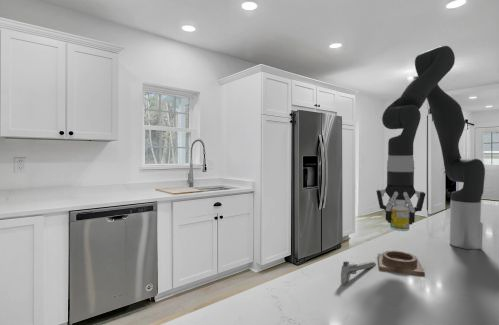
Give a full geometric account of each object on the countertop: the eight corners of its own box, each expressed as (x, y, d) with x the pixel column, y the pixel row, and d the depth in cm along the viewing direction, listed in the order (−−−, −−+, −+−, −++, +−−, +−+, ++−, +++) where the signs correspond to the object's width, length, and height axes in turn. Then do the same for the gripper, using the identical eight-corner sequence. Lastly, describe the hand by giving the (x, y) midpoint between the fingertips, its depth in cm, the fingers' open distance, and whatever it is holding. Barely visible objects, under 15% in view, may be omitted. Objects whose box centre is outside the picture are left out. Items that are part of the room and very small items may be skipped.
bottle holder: (417, 260, 95) (417, 251, 95) (424, 275, 84) (424, 265, 84) (377, 256, 99) (377, 247, 99) (379, 269, 88) (379, 260, 88)
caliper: (344, 287, 78) (344, 263, 78) (340, 285, 79) (340, 262, 79) (376, 265, 93) (376, 245, 92) (373, 264, 93) (373, 244, 93)
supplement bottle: (410, 232, 88) (411, 201, 87) (391, 230, 90) (391, 200, 89) (407, 227, 93) (408, 198, 92) (389, 226, 95) (389, 197, 94)
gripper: (424, 169, 91) (423, 222, 92) (375, 168, 97) (374, 218, 97) (429, 171, 84) (428, 228, 85) (375, 170, 90) (375, 224, 90)
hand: (399, 222), depth 91 cm, fingers closed on supplement bottle, 5 cm apart
